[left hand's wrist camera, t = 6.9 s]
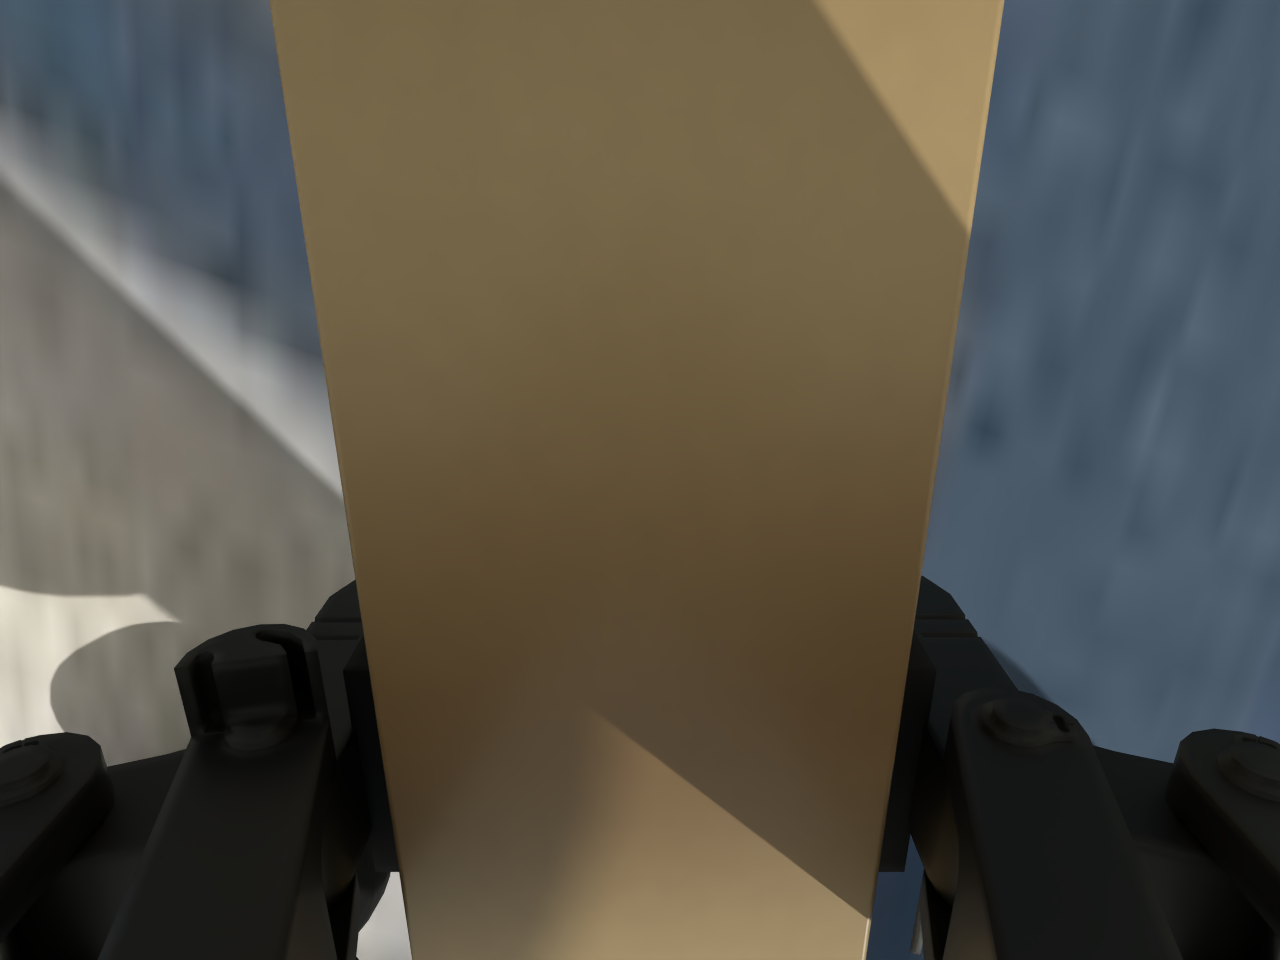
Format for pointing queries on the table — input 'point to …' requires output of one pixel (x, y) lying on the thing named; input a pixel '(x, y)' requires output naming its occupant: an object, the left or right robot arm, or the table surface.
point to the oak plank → (637, 442)
